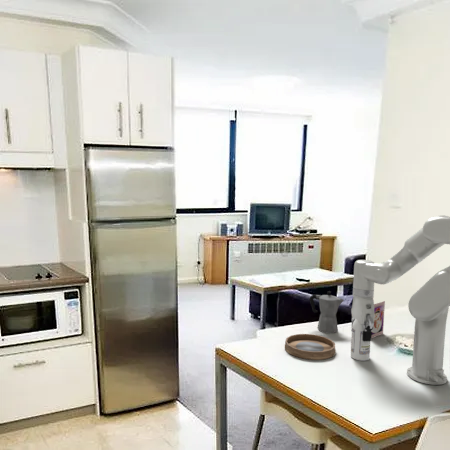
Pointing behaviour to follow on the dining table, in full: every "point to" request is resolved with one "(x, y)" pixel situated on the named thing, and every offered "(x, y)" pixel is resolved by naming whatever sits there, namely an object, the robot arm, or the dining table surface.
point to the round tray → (310, 346)
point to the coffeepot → (327, 312)
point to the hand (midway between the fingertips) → (360, 336)
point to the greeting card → (378, 319)
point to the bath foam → (359, 342)
